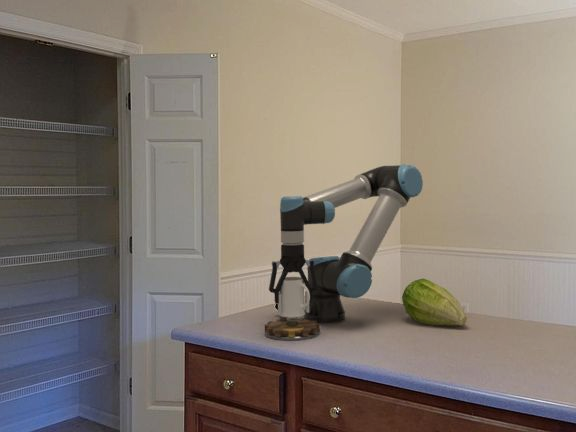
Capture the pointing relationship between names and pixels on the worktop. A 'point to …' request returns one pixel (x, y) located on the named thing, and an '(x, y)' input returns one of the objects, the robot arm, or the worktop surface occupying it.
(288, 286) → the mug
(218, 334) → the worktop surface
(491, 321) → the worktop surface
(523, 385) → the worktop surface
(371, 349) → the worktop surface
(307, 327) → the sprocket
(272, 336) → the base plate
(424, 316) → the lettuce
